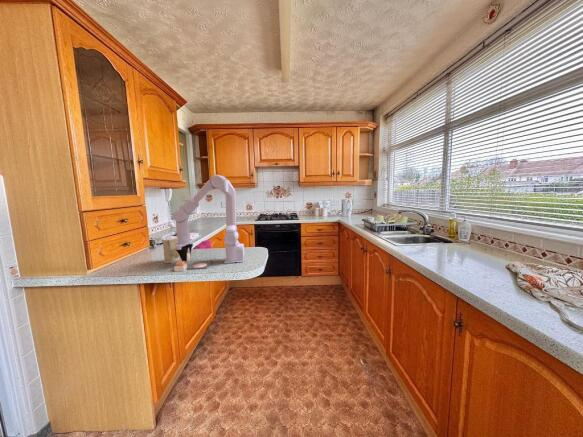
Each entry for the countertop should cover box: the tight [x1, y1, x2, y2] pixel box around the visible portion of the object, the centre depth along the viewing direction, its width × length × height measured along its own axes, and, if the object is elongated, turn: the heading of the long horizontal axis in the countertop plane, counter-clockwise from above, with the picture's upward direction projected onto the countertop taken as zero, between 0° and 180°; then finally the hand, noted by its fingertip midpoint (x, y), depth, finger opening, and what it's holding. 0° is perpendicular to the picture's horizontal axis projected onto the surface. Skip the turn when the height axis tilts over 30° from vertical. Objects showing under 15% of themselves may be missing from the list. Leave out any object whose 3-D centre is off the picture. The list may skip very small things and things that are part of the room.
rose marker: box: [185, 248, 192, 266], centre depth 117 cm, size 4×4×8 cm
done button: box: [175, 260, 185, 266], centre depth 109 cm, size 3×3×2 cm
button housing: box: [173, 263, 188, 272], centre depth 109 cm, size 4×4×2 cm
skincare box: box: [162, 237, 180, 264], centre depth 122 cm, size 6×4×12 cm
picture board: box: [186, 260, 213, 270], centre depth 114 cm, size 9×10×1 cm
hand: (186, 259), depth 117 cm, fingers closed on rose marker, 4 cm apart
